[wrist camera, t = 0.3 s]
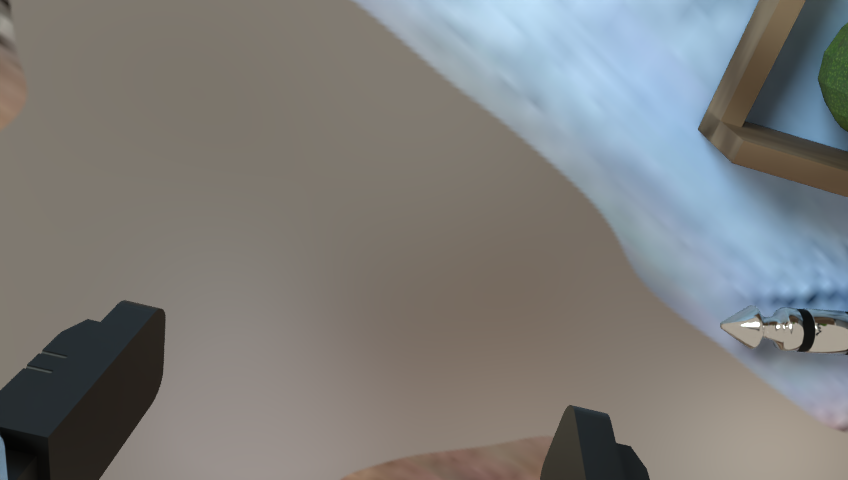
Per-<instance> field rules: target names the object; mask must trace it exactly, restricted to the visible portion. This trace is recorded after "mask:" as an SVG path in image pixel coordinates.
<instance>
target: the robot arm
mask: <svg viewBox="0 0 848 480" xmlns="http://www.w3.org/2000/svg"><path fill="white" fill-rule="evenodd" d="M164 342H165V312H164V310H163V309H160V308H156V307H152V306H147V305H143V304H139V303H134V302H130V301H125V300H124V301H121V302H120V303H119V304H117V305H116V307H115V308H114V309H113V310H112V311H111V312H110V313H109V314H108V315H107V316H106V317H105V318H104V319H103V320H102V321H101V322H97V321H93V320H89V319H87V320H85V321H83V322H81V323H79V324H77V325H75V326H73V327H71V328H69V329H67V330H64V331H62V332H61V333H60V334H59V335H57V336H56V337H55V338H54V339H53V340H52V341H51V342H50V343H49V344H48V345H47V346H46V347H45V348H44V349H43V351H42V353H41V354H38V355H37V356H36V357H35V358H34V359H33V360H32V361H30V362H29V363H28V364H27V368H26V369H22V370H21V371H20V372H19V373H18V374H17V375H16V376H15V377H14V378H13V379H12V380H11V381H10V382H9V383H8V384H7V385H6V386H5V387H4V388H2V390H0V480H99V479H100V477H101V476H102V475H103V473H104V472H105V470H106V469H107V467H108V466H109V465H110V463H111V462H112V460H113V459H114V457H115V456H116V455H117V453H118V452H119V450H120V449H121V447H122V446H123V444H124V443H125V442H126V440H127V439H128V437H129V436H130V434H131V433H132V432H133V430H134V429H135V427H136V426H137V424H138V423H139V422H140V420H141V419H142V417H143V416H144V414H145V413H146V411H147V410H148V409H149V407H150V406H151V404H152V403H153V401H154V399H155V397H156V395H157V393H158V390H159V387H160V384H161V381H162V376H163V364H164ZM540 480H650V479H649V475H648V472H647V469H646V467H645V466H644V465H643V463H642V462H641V460H640V459H639V458H638V456H637V455H636V453H635V452H634V451H633V449H632V448H631V446H627V445H622V444H618V443H616V441H615V437H614V432H613V428H612V424H611V420H610V417H609V415H608V414H606V413H602V412H598V411H594V410H589V409H585V408H581V407H577V406H572V405H569V406H568V407H567V408H566V410H565V411H564V414H563V416H562V419H561V421H560V423H559V426H558V428H557V431H556V433H555V436H554V438H553V441H552V443H551V446H550V448H549V451H548V453H547V455H546V458H545V461H544V463H543V467H542V471H541V477H540Z"/></svg>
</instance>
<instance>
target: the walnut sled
mask: <svg viewBox="0 0 848 480" xmlns="http://www.w3.org/2000/svg"><path fill="white" fill-rule="evenodd" d="M805 1H806V0H759V2H758V4H757V6H756V8H755V10H754V12H753V14H752V17H751V19H750V21H749V23H748V25H747V27H746V29H745V31H744V33H743V35H742V38H741V40H740V42H739V44H738V46H737V48H736V50H735V52H734V54H733V56H732V59H731V61H730V63H729V65H728V67H727V69H726V71H725V73H724V75H723V77H722V80H721V82H720V84H719V86H718V88H717V90H716V92H715V94H714V96H713V98H712V101H711V103H710V105H709V107H708V109H707V111H706V113H705V115H704V117H703V119H702V122H701V124H700V126H699V128H698V130H699V131H700V132H701V133H702V134H703V135H704V136H705V137H706V138H707V139H708V140H709V141H710V142H711V143H712V144H713V145H714V146H715V147H716V148H717V149H718V150H719V151H720V152H722V153H723V154H724V155H725V156H726V157H727V158H728V159H729V160H730V161H731V162H732V163H734V164H737V165H741V166H744V167H747V168H751V169H754V170H758V171H761V172H764V173H768V174H771V175H775V176H778V177H781V178H785V179H788V180H791V181H795V182H798V183H802V184H805V185H808V186H812V187H815V188H818V189H822V190H825V191H829V192H832V193H835V194H839V195H842V196H845V197H848V152H847V151H843V150H840V149H837V148H833V147H830V146H827V145H823V144H820V143H817V142H813V141H810V140H806V139H803V138H800V137H796V136H793V135H790V134H786V133H783V132H780V131H776V130H773V129H770V128H766V127H763V126H760V125H756V124H753V123H750V122H746V121H745V119H746V117H747V115H748V113H749V111H750V109H751V107H752V105H753V104H754V102H755V100H756V98H757V96H758V94H759V92H760V90H761V88H762V86H763V84H764V82H765V80H766V78H767V76H768V74H769V72H770V70H771V68H772V66H773V64H774V62H775V60H776V58H777V56H778V54H779V52H780V50H781V48H782V46H783V44H784V42H785V40H786V38H787V36H788V34H789V32H790V31H791V29H792V27H793V25H794V23H795V21H796V19H797V17H798V15H799V13H800V11H801V9H802V7H803V5H804V3H805Z"/></svg>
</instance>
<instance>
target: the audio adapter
mask: <svg viewBox="0 0 848 480" xmlns="http://www.w3.org/2000/svg"><path fill="white" fill-rule="evenodd" d="M720 328H721V329H723V330H724V331H725V332H727V333H728V334H729V335H731V336H732V337H733V338H735V339H736V340H738V341H739V342H740V343H742V344H743V345H744V346H746V347H747V348H749V349H755V348H757V346H758V345H759V344H760V342H761V340H763V339H770V340H771V341H772V342H773V344H774V346H775V347H776V348H777V349H779V350H782V351H787V352H795V351H797V352H805V353H817V354H833V355H848V312H844V311H835V310H819V309H796V308H786V307H783V308H779V309H777V310H776V311H775V312H774V314H773V316H772V317H764V316H762V315H761V313H760V311H759V309H758V308H757V307H756V306H752V305H750V306H748V307H746V308H744V309H743V310H741V311H739V312H738V313H736V314H734V315H733V316H731V317H729V318H727V319H726V320H724V321H722V322H721V323H720Z"/></svg>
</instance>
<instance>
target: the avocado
mask: <svg viewBox="0 0 848 480" xmlns="http://www.w3.org/2000/svg"><path fill="white" fill-rule="evenodd" d="M818 81H819V85H820V88H821V91H822V94H823V98H824V101H825V103H826V105H827V106H828V108H829V110H830V111H831V113H832V115H833V117H834V118H835V120H836V121H837V123H838V124H839V125H840V127H841V128H843V129H844V130H846V131H847V132H848V23H847V24H845V25H844V26H843V27H842V28H841V30H840V31H839V32H838V34H837V35H836V37H835V38H834V40H833V41H832V42H831V44H830V45H829V47H828V48H827V49H826V51H825V52H824V56H823V60H822V64H821V68H820V72H819V76H818Z"/></svg>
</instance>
